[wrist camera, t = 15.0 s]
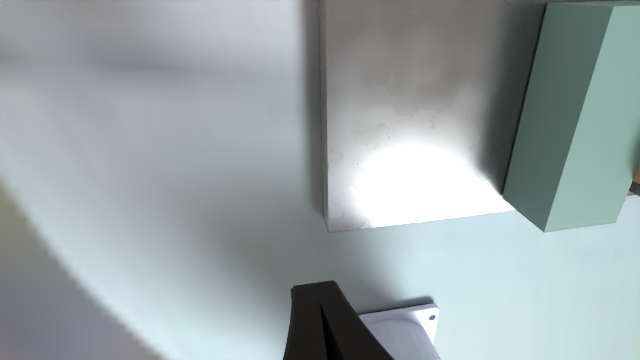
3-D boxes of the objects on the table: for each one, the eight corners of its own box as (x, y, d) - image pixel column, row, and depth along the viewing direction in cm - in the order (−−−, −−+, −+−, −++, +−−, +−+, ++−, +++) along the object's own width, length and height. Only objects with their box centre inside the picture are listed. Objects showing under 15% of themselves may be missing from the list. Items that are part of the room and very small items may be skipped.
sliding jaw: (564, 190, 22) (615, 222, 19) (502, 198, 21) (544, 232, 18) (625, 0, 17) (705, 3, 14) (547, 2, 17) (613, 6, 14)
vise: (623, 182, 25) (705, 225, 20) (323, 217, 22) (343, 276, 17) (707, -27, 19) (845, -31, 15) (318, -17, 16) (346, -18, 12)
